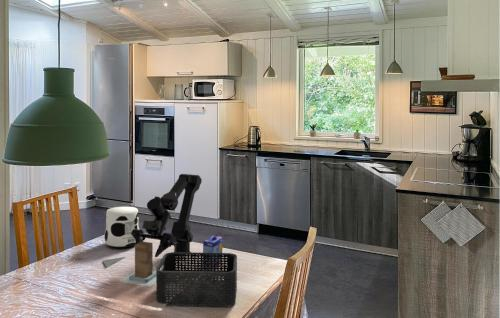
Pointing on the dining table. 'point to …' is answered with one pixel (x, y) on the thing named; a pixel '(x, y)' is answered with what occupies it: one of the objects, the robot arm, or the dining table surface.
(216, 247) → the ink cartridge box
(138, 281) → the pocket board
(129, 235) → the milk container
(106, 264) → the slate coaster
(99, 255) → the dining table surface
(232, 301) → the storage bin
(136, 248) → the walnut block
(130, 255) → the dining table surface
